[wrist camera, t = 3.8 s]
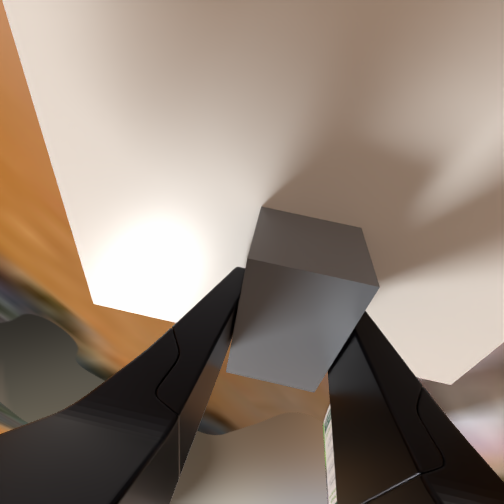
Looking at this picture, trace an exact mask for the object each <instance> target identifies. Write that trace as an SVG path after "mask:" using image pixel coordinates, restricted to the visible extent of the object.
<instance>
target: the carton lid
mask: <svg viewBox="0 0 504 504" xmlns="http://www.w3.org/2000/svg"><path fill="white" fill-rule="evenodd" d="M2 1H3V4H4V7H5V11H6V14H7V17H8V21H9V24H10V27H11V31H12V34H13V37H14V41H15V44H16V47H17V51H18V54H19V57H20V61H21V64H22V67H23V71H24V74H25V77H26V81H27V84H28V87H29V90H30V94H31V97H32V100H33V104H34V107H35V110H36V114H37V117H38V120H39V124H40V127H41V130H42V134H43V137H44V140H45V144H46V147H47V150H48V154H49V157H50V160H51V164H52V167H53V170H54V174H55V177H56V180H57V184H58V187H59V190H60V194H61V197H62V200H63V204H64V207H65V210H66V213H67V217H68V220H69V223H70V227H71V230H72V233H73V237H74V240H75V243H76V247H77V250H78V253H79V257H80V260H81V263H82V267H83V270H84V273H85V277H86V280H87V283H88V287H89V290H90V293H91V297H92V300H93V303H94V304H97V305H101V306H106V307H110V308H114V309H119V310H123V311H128V312H132V313H136V314H141V315H145V316H150V317H154V318H158V319H163V320H167V321H171V322H176V323H177V322H178V321H179V320H180V319H181V318H182V317H183V316H184V315H185V314H186V313H187V312H188V311H190V310H191V309H192V308H193V307H194V306H195V305H196V304H197V303H198V302H199V301H200V300H201V299H202V298H203V297H204V296H206V295H207V294H208V293H209V292H210V291H211V290H212V289H213V288H214V287H215V286H216V285H217V284H218V283H219V282H220V281H222V280H223V279H224V278H225V277H226V276H227V275H228V274H229V273H230V272H231V271H232V270H233V269H234V268H236V267H242V268H245V273H244V278H243V284H242V289H241V295H240V300H239V305H238V311H237V316H236V321H235V327H234V332H233V337H232V343H231V348H230V354H229V359H228V364H227V370H226V372H228V373H233V374H237V375H241V376H246V377H250V378H254V379H259V380H263V381H267V382H271V383H276V384H280V385H284V386H289V387H293V388H297V389H302V390H306V391H310V392H315V390H316V389H317V387H318V385H319V384H320V382H321V381H322V379H323V377H324V376H325V374H326V373H327V371H328V369H329V368H330V366H331V365H332V363H333V361H334V360H335V358H336V357H337V355H338V353H339V352H340V350H341V349H342V347H343V345H344V344H345V342H346V341H347V339H348V337H349V336H350V334H351V333H352V331H353V329H354V328H355V326H356V325H357V323H358V321H359V320H360V318H361V317H362V315H363V313H364V312H365V311H366V312H367V313H368V314H369V316H370V317H371V318H372V320H373V321H374V322H375V324H376V325H377V326H378V328H379V329H380V330H381V331H382V333H383V334H384V335H385V337H386V338H387V339H388V341H389V342H390V343H391V345H392V346H393V347H394V348H395V350H396V351H397V352H398V354H399V355H400V356H401V358H402V359H403V360H404V362H405V363H406V364H407V366H408V367H409V368H410V369H411V371H412V372H413V373H414V375H415V376H416V377H418V378H422V379H427V380H431V381H435V382H440V383H444V384H449V385H452V384H453V383H454V382H455V381H456V380H458V379H459V378H460V377H461V376H463V375H464V374H465V373H466V372H468V371H469V370H470V369H471V368H473V367H474V366H475V365H476V364H477V363H479V362H480V361H481V360H482V359H484V358H485V357H486V356H487V355H489V354H490V353H491V352H492V351H494V350H495V349H496V348H497V347H498V346H500V345H501V344H502V343H503V342H504V0H2Z"/></svg>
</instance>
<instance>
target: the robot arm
mask: <svg viewBox="0 0 504 504" xmlns="http://www.w3.org/2000/svg"><path fill="white" fill-rule="evenodd" d="M244 273H245V268H242V267H236V268H234V269H233V270H232V271H231V272H230V273H229V274H228V275H227V276H226V277H225V278H224V279H223V280H222V281H220V282H219V283H218V284H217V285H216V286H215V287H214V288H213V289H212V290H211V291H210V292H209V293H208V294H207V295H206V296H204V297H203V298H202V299H201V300H200V301H199V302H198V303H197V304H196V305H195V306H194V307H193V308H192V309H191V310H190V311H188V312H187V313H186V314H185V315H184V316H183V317H182V318H181V319H180V320H179V321H178V322H177V323H176V324H175V325H173V326H172V328H170V329H169V330H168V331H167V332H166V333H165V334H164V335H163V336H162V337H160V338H159V339H158V340H157V341H156V342H155V343H154V344H153V345H151V346H150V347H149V348H148V349H147V350H146V351H144V352H143V353H142V354H140V355H139V356H138V357H137V358H135V359H134V360H133V361H131V362H130V363H129V364H127V365H126V366H125V367H123V368H122V369H121V370H119V371H118V372H117V373H115V374H114V375H113V376H111V377H110V378H109V379H107V380H106V381H105V382H103V383H102V384H101V385H99V386H98V387H97V388H95V389H94V390H93V391H91V392H90V393H89V394H87V395H86V396H84V397H83V398H82V399H80V400H79V401H77V402H75V403H74V404H72V405H70V406H69V407H67V408H65V409H63V410H61V411H59V412H57V413H55V414H52V415H50V416H47V417H44V418H42V419H39V420H37V421H34V422H31V423H29V424H26V425H23V426H21V427H18V428H15V429H13V430H10V431H7V432H5V433H2V434H0V504H170V501H171V499H172V496H173V493H174V491H175V488H176V485H177V483H178V480H179V477H180V474H181V472H182V469H183V467H184V464H185V461H186V459H187V456H188V453H189V451H190V448H191V445H192V443H193V440H194V438H195V435H196V432H197V430H198V427H199V424H200V422H201V419H202V416H203V414H204V411H205V408H206V406H207V403H208V400H209V398H210V395H211V392H212V390H213V387H214V385H215V382H216V379H217V377H218V374H219V371H220V369H221V366H222V363H223V361H224V358H225V355H226V353H227V350H228V347H229V345H230V342H231V339H232V337H233V332H234V327H235V321H236V316H237V311H238V305H239V300H240V295H241V289H242V284H243V278H244ZM328 380H329V395H330V409H331V423H332V438H333V452H334V466H335V481H336V495H337V504H504V482H503V481H502V480H501V479H500V477H499V476H498V475H497V474H496V473H495V472H494V471H493V469H492V468H491V467H490V466H489V465H488V464H487V463H486V461H485V460H484V459H483V458H482V457H481V456H480V455H479V453H478V452H477V451H476V450H475V449H474V448H473V447H472V445H471V444H470V443H469V442H468V441H467V440H466V438H465V437H464V436H463V435H462V434H461V433H460V431H459V430H458V429H457V428H456V427H455V425H454V424H453V423H452V422H451V421H450V420H449V418H448V417H447V416H446V415H445V413H444V412H443V411H442V410H441V408H440V407H439V406H438V404H437V403H436V402H435V401H434V399H433V398H432V397H431V395H430V394H429V393H428V392H427V390H426V389H425V388H424V387H422V384H421V383H420V381H419V380H418V379H417V377H416V376H415V375H414V373H413V372H412V371H411V369H410V368H409V367H408V366H407V364H406V363H405V362H404V360H403V359H402V358H401V356H400V355H399V354H398V352H397V351H396V350H395V348H394V347H393V346H392V345H391V343H390V342H389V341H388V339H387V338H386V337H385V335H384V334H383V333H382V331H381V330H380V329H379V328H378V326H377V325H376V324H375V322H374V321H373V320H372V318H371V317H370V316H369V314H368V313H367V312H366V311H365V312H364V313H363V315H362V317H361V318H360V320H359V321H358V323H357V325H356V326H355V328H354V329H353V331H352V333H351V334H350V336H349V337H348V339H347V341H346V342H345V344H344V345H343V347H342V349H341V350H340V352H339V353H338V355H337V357H336V358H335V360H334V361H333V363H332V365H331V366H330V368H329V369H328Z"/></svg>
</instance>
